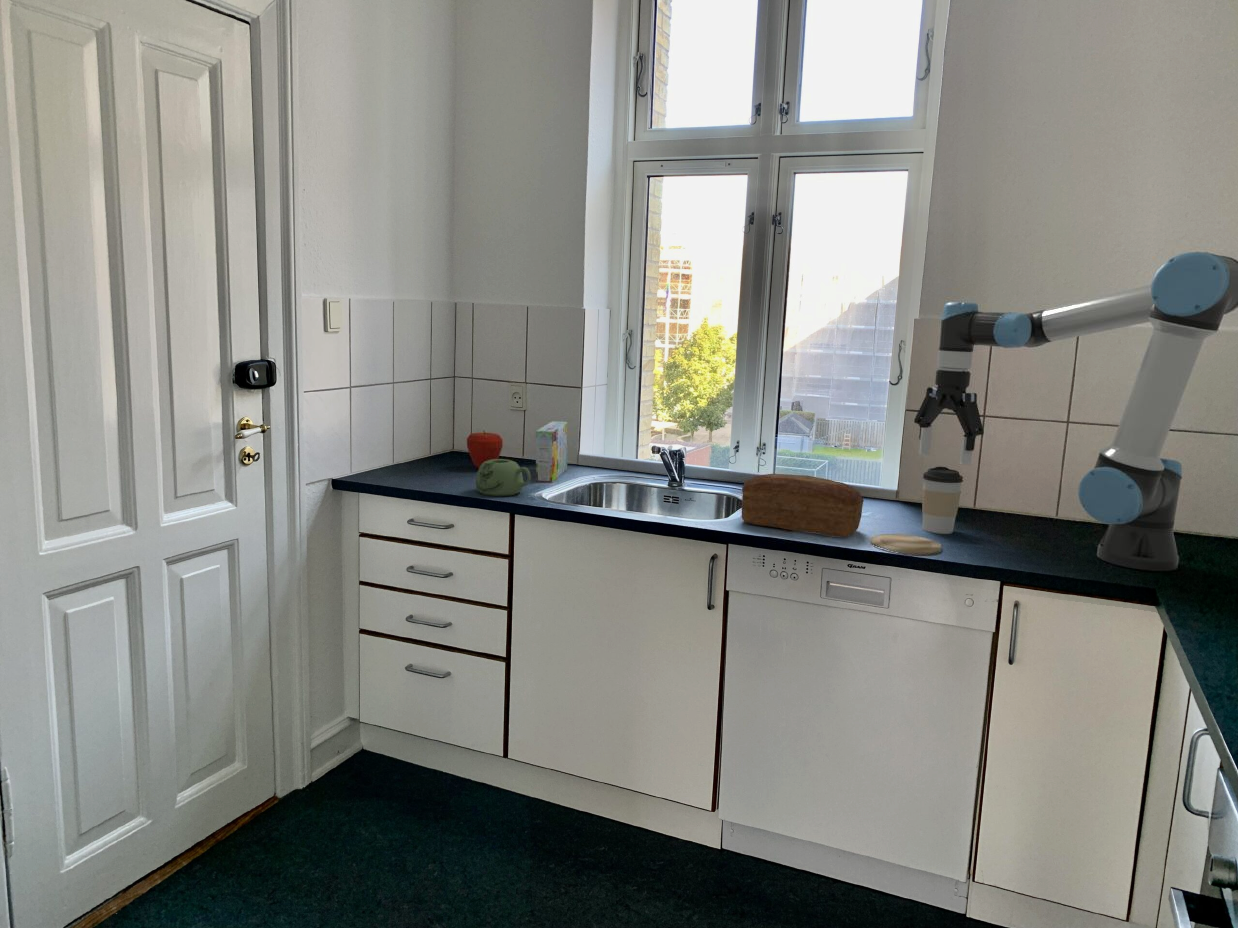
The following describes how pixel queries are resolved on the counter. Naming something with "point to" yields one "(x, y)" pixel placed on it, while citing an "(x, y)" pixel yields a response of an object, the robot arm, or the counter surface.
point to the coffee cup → (940, 499)
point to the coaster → (906, 544)
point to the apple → (484, 447)
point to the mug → (501, 477)
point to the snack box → (551, 451)
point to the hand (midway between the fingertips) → (943, 459)
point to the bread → (802, 504)
